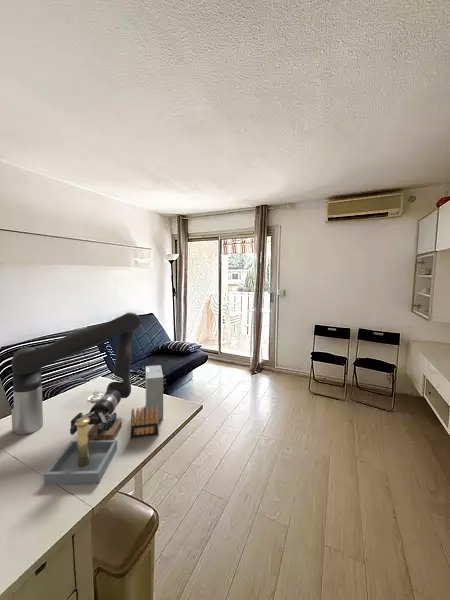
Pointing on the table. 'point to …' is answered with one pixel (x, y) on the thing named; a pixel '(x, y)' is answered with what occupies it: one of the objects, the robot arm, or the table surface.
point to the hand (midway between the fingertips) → (84, 432)
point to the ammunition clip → (144, 423)
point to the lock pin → (82, 441)
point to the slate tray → (71, 473)
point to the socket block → (105, 432)
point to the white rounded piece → (95, 396)
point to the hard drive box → (154, 389)
